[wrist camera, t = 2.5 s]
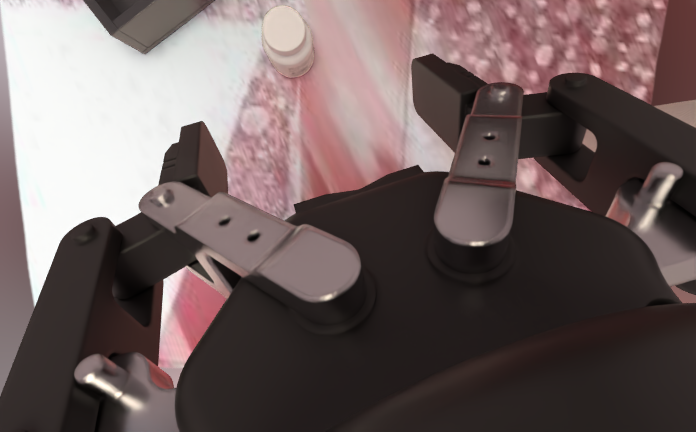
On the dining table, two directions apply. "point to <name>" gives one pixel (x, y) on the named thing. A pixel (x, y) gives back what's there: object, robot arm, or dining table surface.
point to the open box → (144, 19)
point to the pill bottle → (287, 41)
